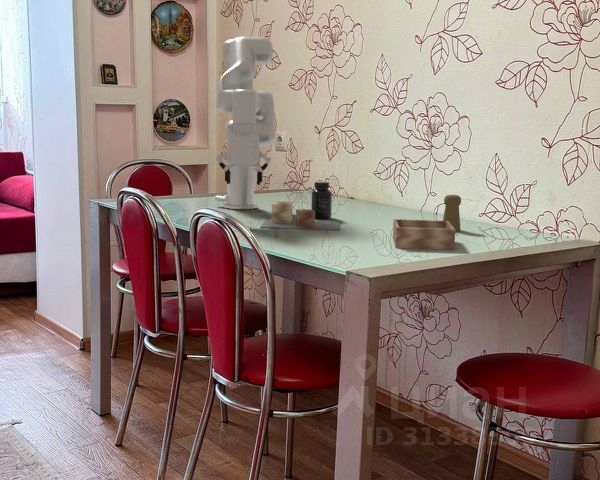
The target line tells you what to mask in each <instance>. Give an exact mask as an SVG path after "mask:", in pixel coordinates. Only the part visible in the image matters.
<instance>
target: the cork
mask: <svg viewBox="0 0 600 480" xmlns="http://www.w3.org/2000/svg"><path fill="white" fill-rule="evenodd" d="M443 203H444V205H445V206H444V212H443V217H442V221H449V222H450V224H451V225H452V226H453V227H454V228H455V233H456V232H461V230H462V229H461V219H460V218H461V217H460V216H461V215H460V205H461V203H462V198H461V196H460V195H458V194H447V195H445V196H444V199H443Z"/></svg>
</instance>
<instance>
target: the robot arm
mask: <svg viewBox="0 0 600 480" xmlns="http://www.w3.org/2000/svg"><path fill="white" fill-rule="evenodd" d="M221 47H222V48H221V55H222V62H223V65H224V68H225V70H226V71H225V72H223V74H222V75H221V77H220V78H219V79H218V81H217V85H216V107H217V110H218V111H219V112H221V113H223V114H231V120H229V121H228V122H227V123H226V124H225V129H224V131H225V139H226V140H225V141H226V147H227V150H226V152H224V153H222V154H220V155H218V156H216V161H217V163H218V165H219V166H220V168H221V169H223V171H224V182H226V184H227V193H226V194H224V195H215V197H214V198H215V202H224V203H223V204H222V208H225V209H228V208H229V210H255V209H258V207H259V205H258V203H255V202H254V201H255V200H254V199H255V191H254V190H255V168H256V169H257V172H256V185H261V183H262V182H263V171H265V170H266V169H267V168H268V166H269V165H270V163H271V161H272V157H270V156H268V155H266V154H264V153H262V152H261V147H270V146H272V145H273V144H274V141H275V131H276V130H275V102H274V101H275V100H274V97H273V95H272V93H271V92H269V91H268V90H256V89H255V90H254V78H255V76H256V72H257V70H256V68H257V67H256V65H268V64H269V63H271V62H272V59H273V54H274V49H273V47H274V46H273V43H272V41H271V40H270V39H269V38H268V37H264V36H238V37H235V38H233V39H228V40H226V41H224V42H223V43H222V46H221ZM257 118H259V119H257ZM225 158H226V162H227V164H226V163H224V161H223V159H225ZM261 158H262V159H263V160H264V161H265V162H264V164H262V165H261V164H260V163H261ZM254 208H255V209H254Z"/></svg>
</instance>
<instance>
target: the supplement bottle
mask: <svg viewBox="0 0 600 480" xmlns="http://www.w3.org/2000/svg"><path fill="white" fill-rule="evenodd" d="M329 188H330V181H329V182H327V181H315V182H314V189H313V190H312V191H311V195H310V196H311V198H310V199H311V201H310V202H311V203H310V204H311V205H310V208H311V209H310V210H313V211H315V220H330V219H331V218H332V212H333V211H332V208H333V207H332V204H333V192H332V191H331V190H330V189H329Z"/></svg>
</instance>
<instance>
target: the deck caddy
mask: <svg viewBox="0 0 600 480" xmlns="http://www.w3.org/2000/svg"><path fill="white" fill-rule="evenodd" d="M392 225H393V227H392V239H393V244H394V247H395V249H415V248H416V249H418V250H419V249H420V250H422V249H423V250H444V249H446V251H447V249H448V251H453V250H454V251H455V241H456V232H455V228H454V227H453V226H452V225H451V224H450V222H449V221H443V220H433V219H432V220H430V219H429V220H428V219H403V218H402V219H401V218H400V219H399V218H398V219H397V218H396V219H395V218H393V223H392Z"/></svg>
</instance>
